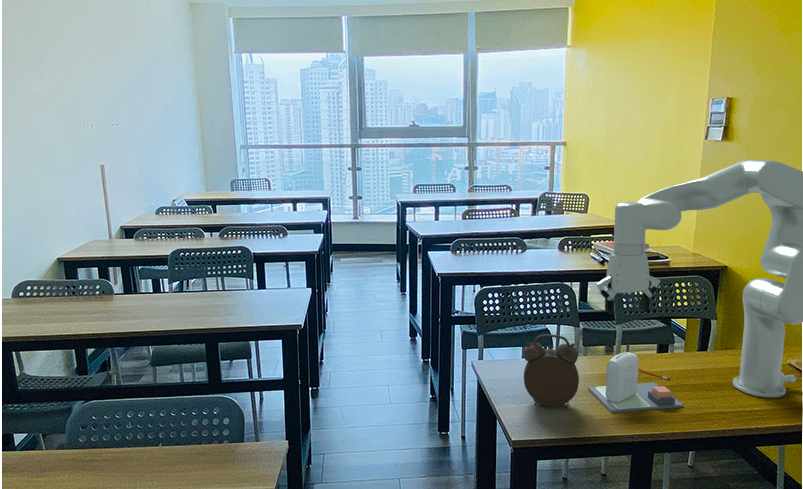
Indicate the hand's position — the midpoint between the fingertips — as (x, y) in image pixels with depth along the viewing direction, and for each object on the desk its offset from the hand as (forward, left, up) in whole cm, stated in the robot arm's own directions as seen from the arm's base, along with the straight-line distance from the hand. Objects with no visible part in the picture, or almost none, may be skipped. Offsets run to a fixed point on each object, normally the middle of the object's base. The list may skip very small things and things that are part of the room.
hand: (627, 311), depth 147 cm
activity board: (-3, 0, -25) cm, 25 cm away
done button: (-9, +4, -23) cm, 25 cm away
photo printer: (+1, 0, -24) cm, 24 cm away
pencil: (-14, -17, -26) cm, 34 cm away
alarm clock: (+21, 0, -25) cm, 33 cm away
